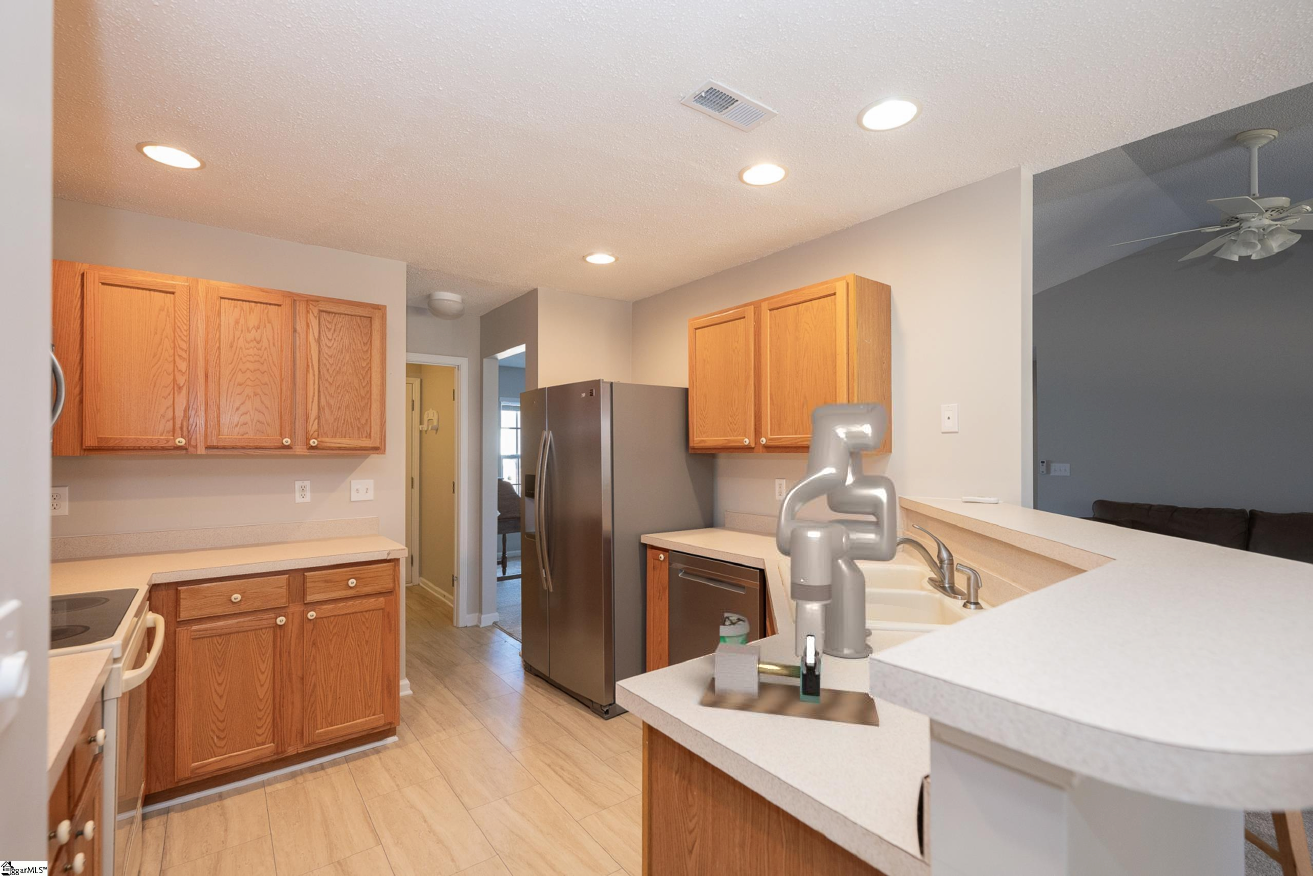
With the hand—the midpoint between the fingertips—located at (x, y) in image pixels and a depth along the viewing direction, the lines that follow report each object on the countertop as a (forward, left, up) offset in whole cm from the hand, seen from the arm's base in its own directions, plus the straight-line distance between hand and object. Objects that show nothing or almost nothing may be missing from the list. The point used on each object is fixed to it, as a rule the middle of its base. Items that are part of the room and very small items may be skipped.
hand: (811, 690), depth 111 cm
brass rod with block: (+4, -6, -1) cm, 7 cm away
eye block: (+7, -12, -2) cm, 14 cm away
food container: (-7, -24, -3) cm, 25 cm away
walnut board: (+2, -4, -3) cm, 5 cm away
